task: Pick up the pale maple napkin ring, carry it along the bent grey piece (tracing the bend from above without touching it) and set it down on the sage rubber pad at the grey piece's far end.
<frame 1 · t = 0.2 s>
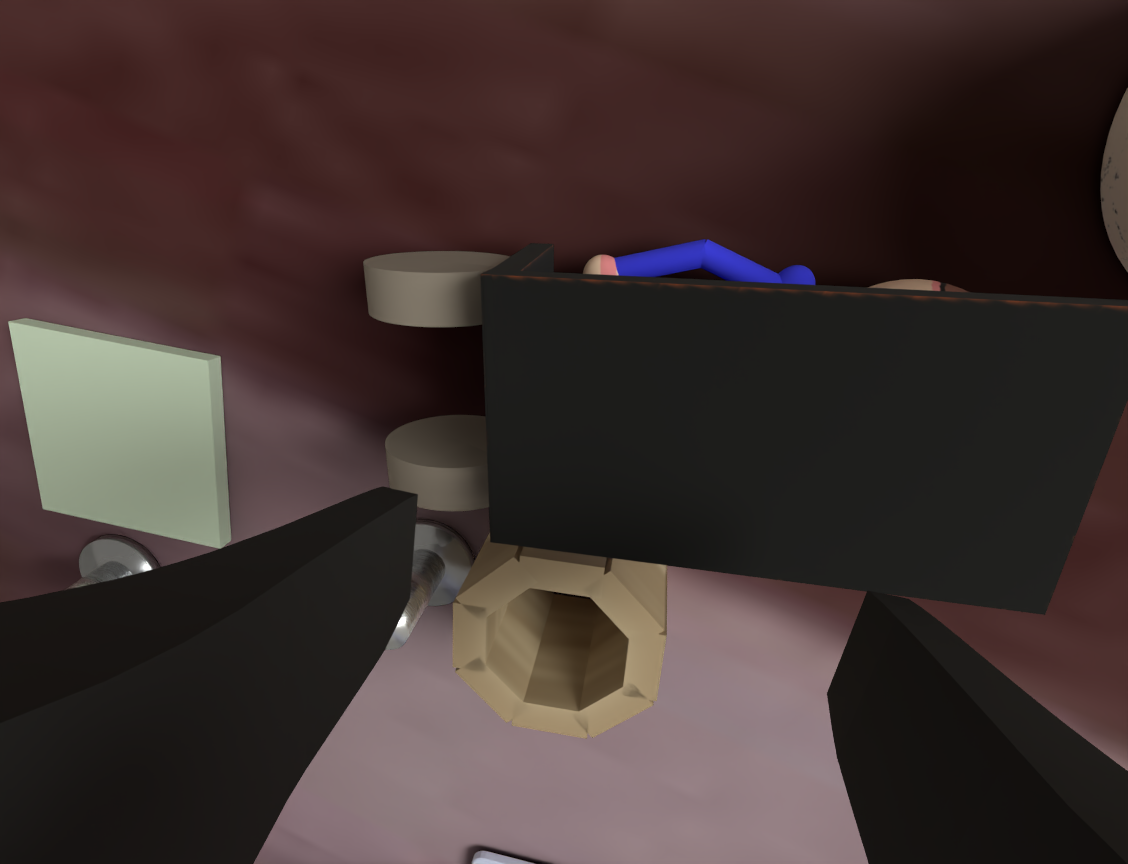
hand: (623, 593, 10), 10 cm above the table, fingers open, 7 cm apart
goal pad: (132, 434, 22), on the table
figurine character: (681, 352, 19), on the table
grey piece: (296, 588, 24), on the table
maple ring: (580, 550, 21), on the table
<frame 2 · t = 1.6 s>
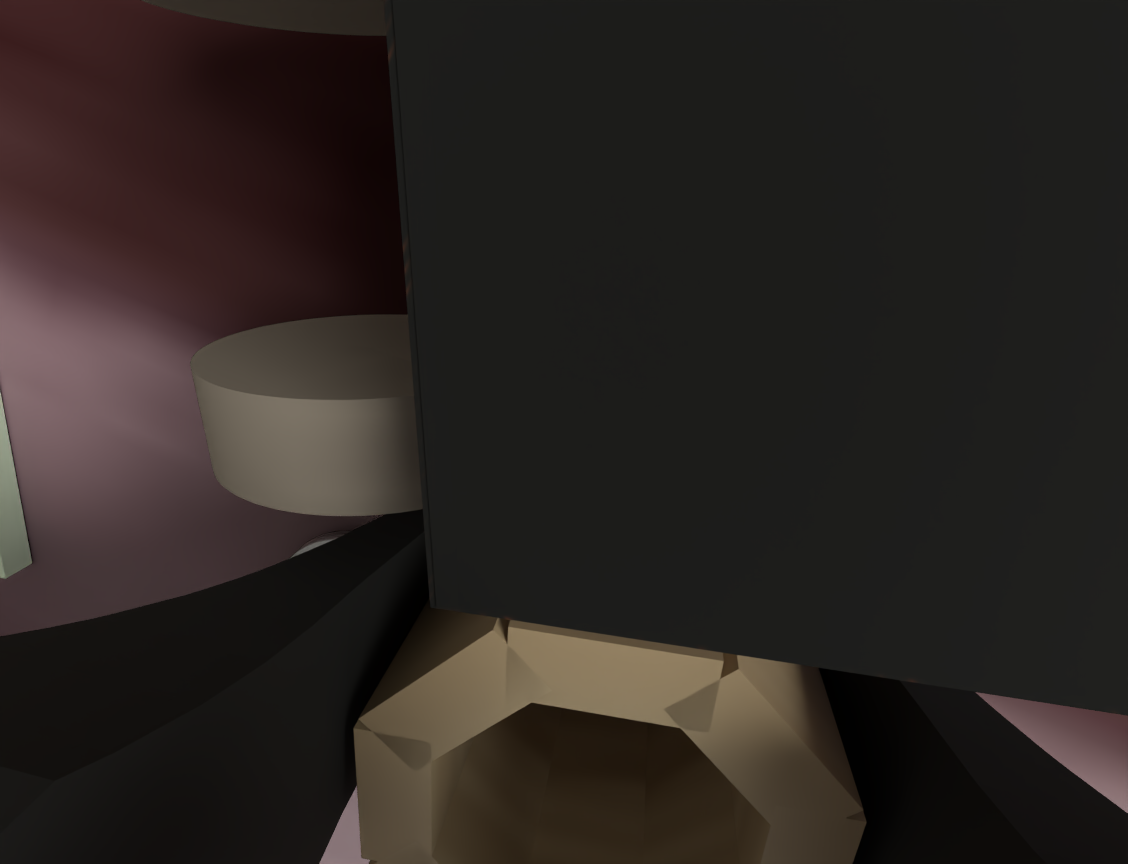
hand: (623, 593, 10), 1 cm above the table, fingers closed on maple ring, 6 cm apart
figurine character: (842, 200, 9), on the table
grey piece: (144, 644, 14), on the table
maple ring: (620, 587, 12), on the table, touching gripper
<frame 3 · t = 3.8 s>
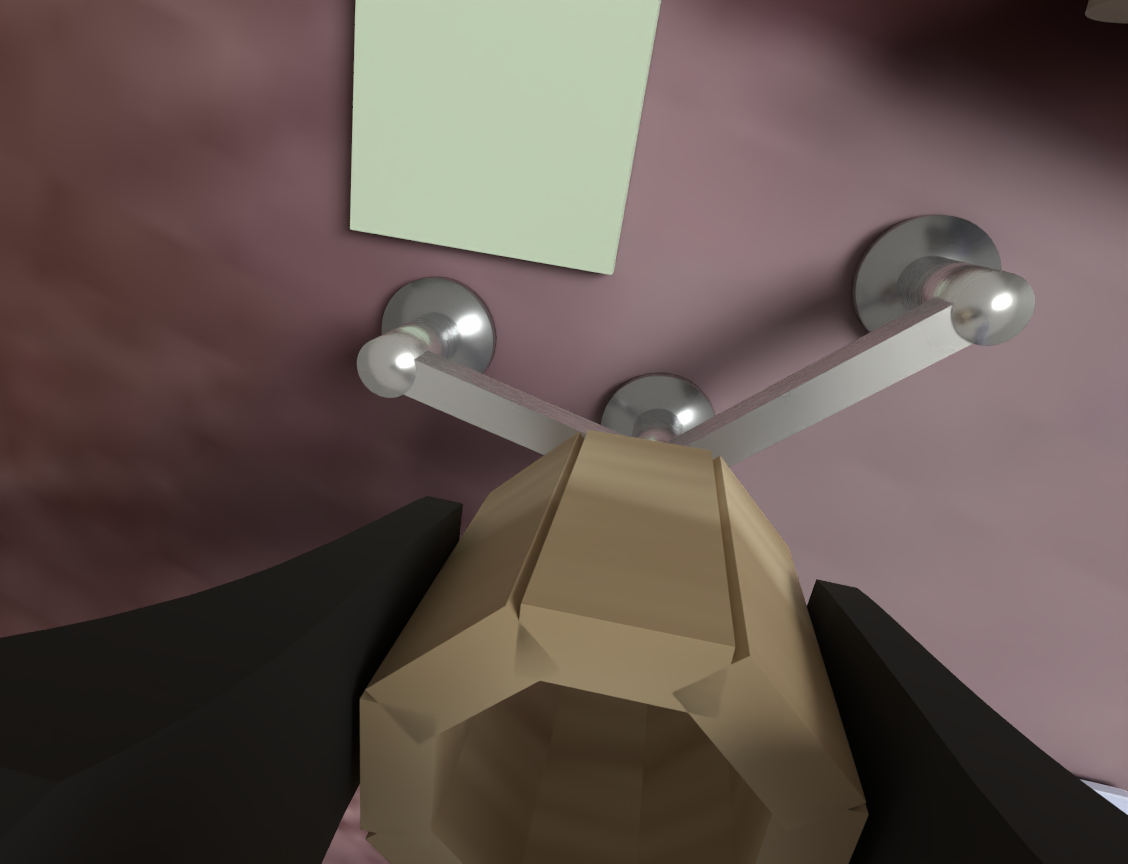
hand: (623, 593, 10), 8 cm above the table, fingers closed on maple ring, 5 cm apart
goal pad: (499, 104, 16), on the table
grey piece: (695, 345, 17), on the table
maple ring: (625, 576, 12), point 7 cm above the table, touching gripper
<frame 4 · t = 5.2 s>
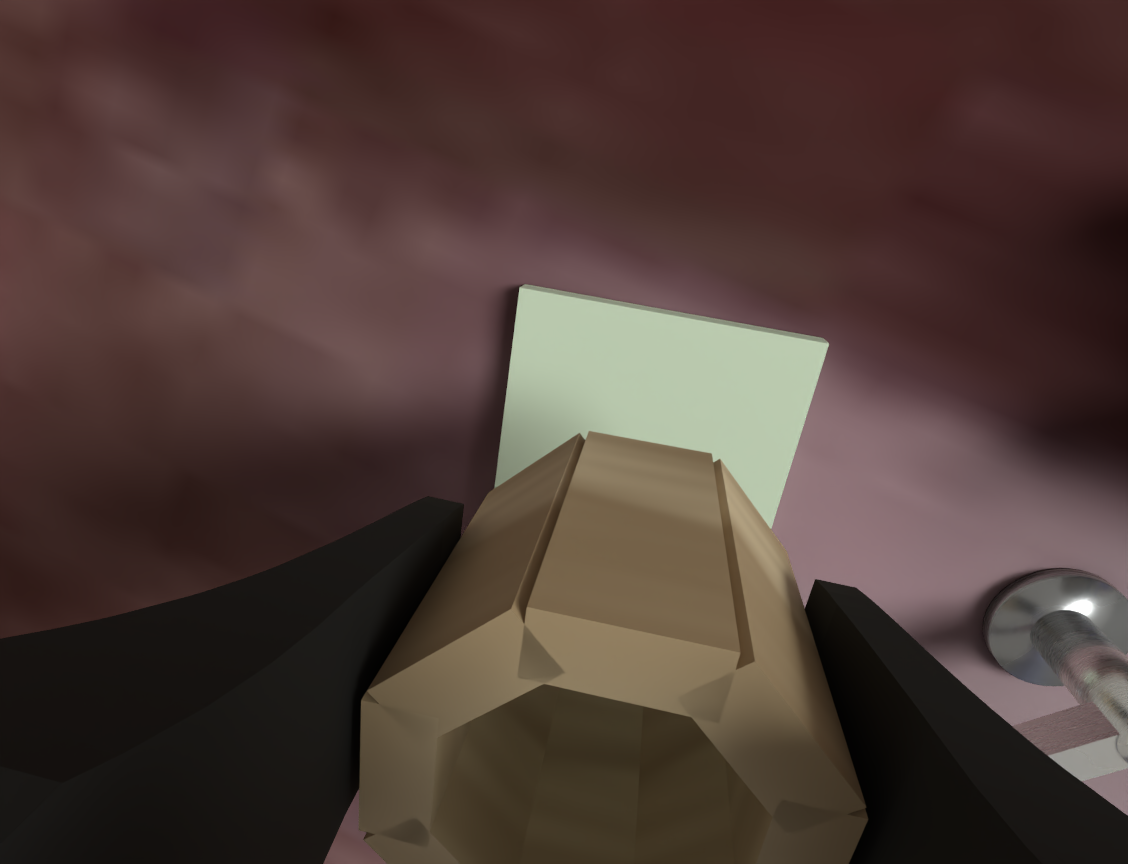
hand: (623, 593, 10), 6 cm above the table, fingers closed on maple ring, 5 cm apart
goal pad: (641, 447, 16), on the table
grey piece: (822, 656, 17), on the table
maple ring: (622, 577, 12), point 5 cm above the table, touching gripper
when the fingers open (4 cm above the table, at t = 6.2 s): maple ring drops 1 cm, resting on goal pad.
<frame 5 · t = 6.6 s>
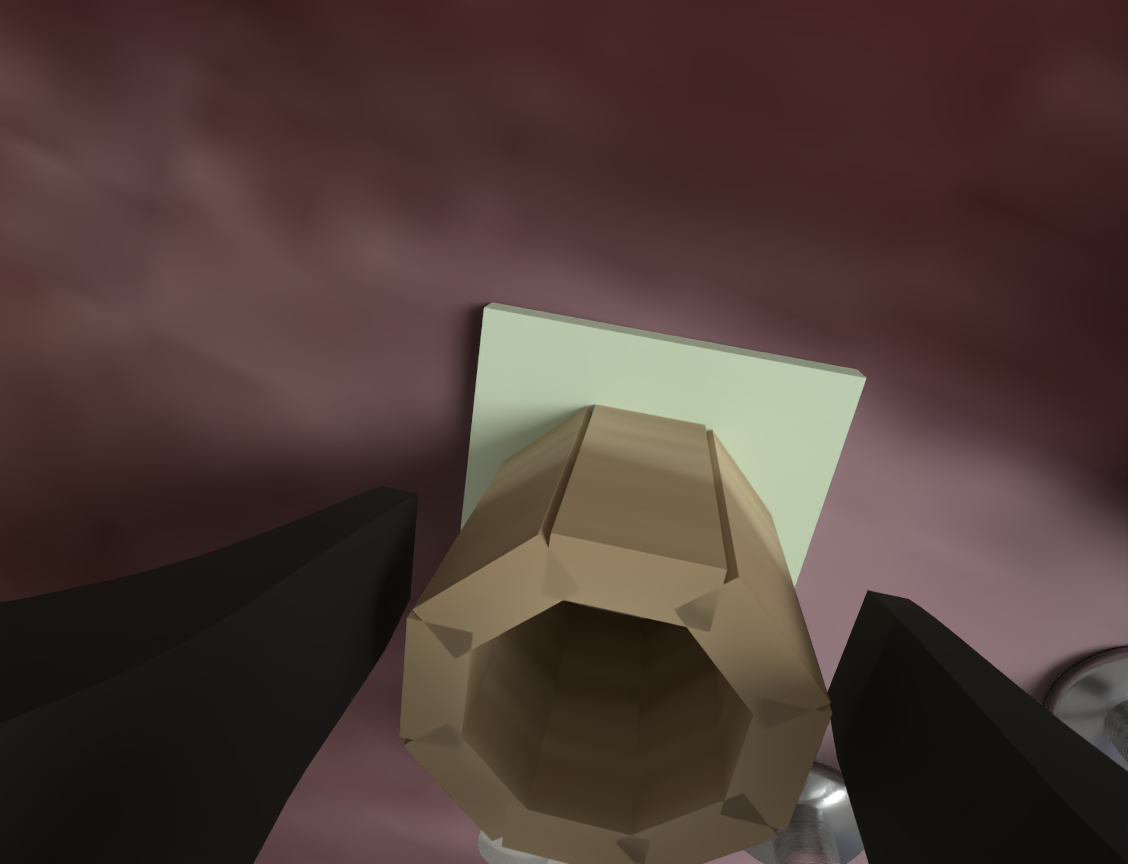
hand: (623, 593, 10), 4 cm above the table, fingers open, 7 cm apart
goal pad: (634, 496, 13), on the table
grey piece: (849, 740, 15), on the table
maple ring: (624, 538, 13), point 1 cm above the table, touching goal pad
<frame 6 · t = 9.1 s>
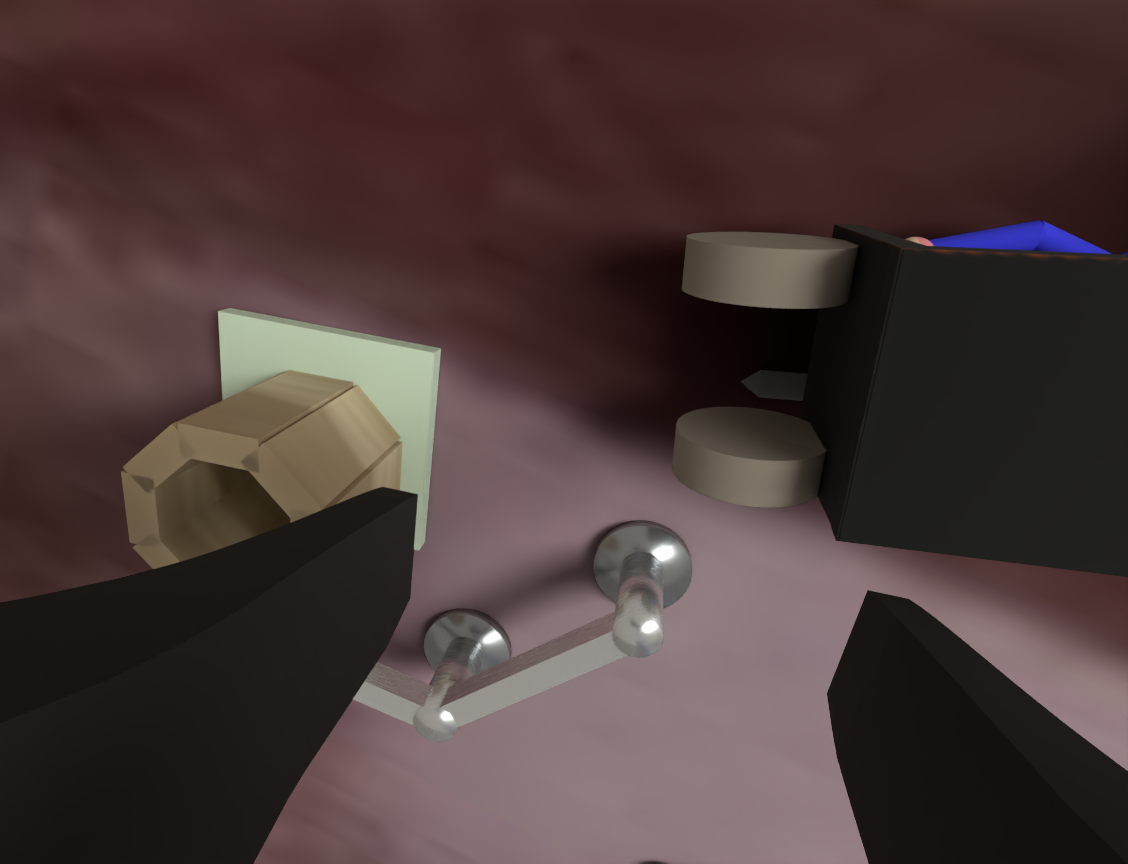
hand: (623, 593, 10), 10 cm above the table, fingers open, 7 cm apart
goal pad: (332, 430, 21), on the table
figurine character: (951, 343, 18), on the table
grey piece: (489, 592, 23), on the table
maple ring: (321, 455, 21), point 1 cm above the table, touching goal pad
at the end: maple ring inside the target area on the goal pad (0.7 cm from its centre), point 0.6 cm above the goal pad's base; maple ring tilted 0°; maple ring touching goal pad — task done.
